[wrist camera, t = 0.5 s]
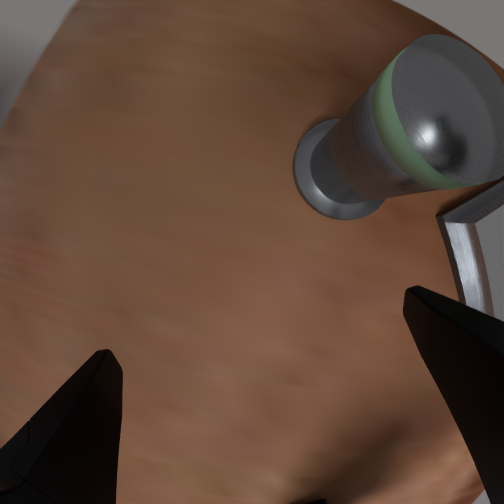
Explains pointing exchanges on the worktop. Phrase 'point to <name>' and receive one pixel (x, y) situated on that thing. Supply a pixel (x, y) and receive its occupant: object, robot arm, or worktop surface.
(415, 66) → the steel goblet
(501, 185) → the metal stand
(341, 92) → the worktop surface
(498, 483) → the robot arm
